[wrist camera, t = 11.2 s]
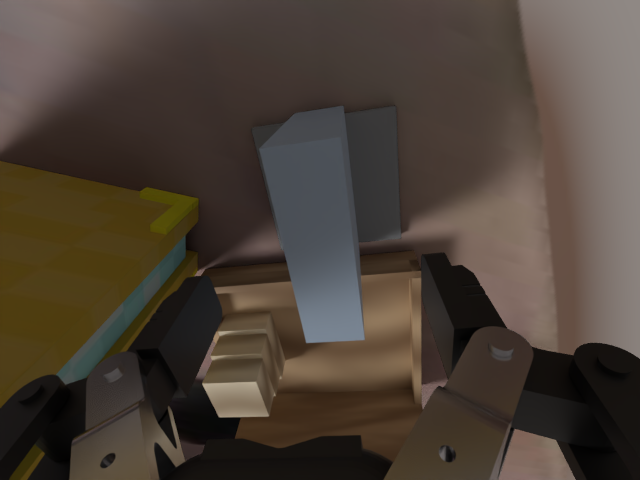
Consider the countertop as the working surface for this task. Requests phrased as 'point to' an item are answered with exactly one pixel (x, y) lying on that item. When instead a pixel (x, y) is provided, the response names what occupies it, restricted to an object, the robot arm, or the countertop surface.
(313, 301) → the block
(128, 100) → the countertop surface
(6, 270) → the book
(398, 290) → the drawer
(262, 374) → the offcut top
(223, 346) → the offcut middle
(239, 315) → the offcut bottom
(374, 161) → the mat
